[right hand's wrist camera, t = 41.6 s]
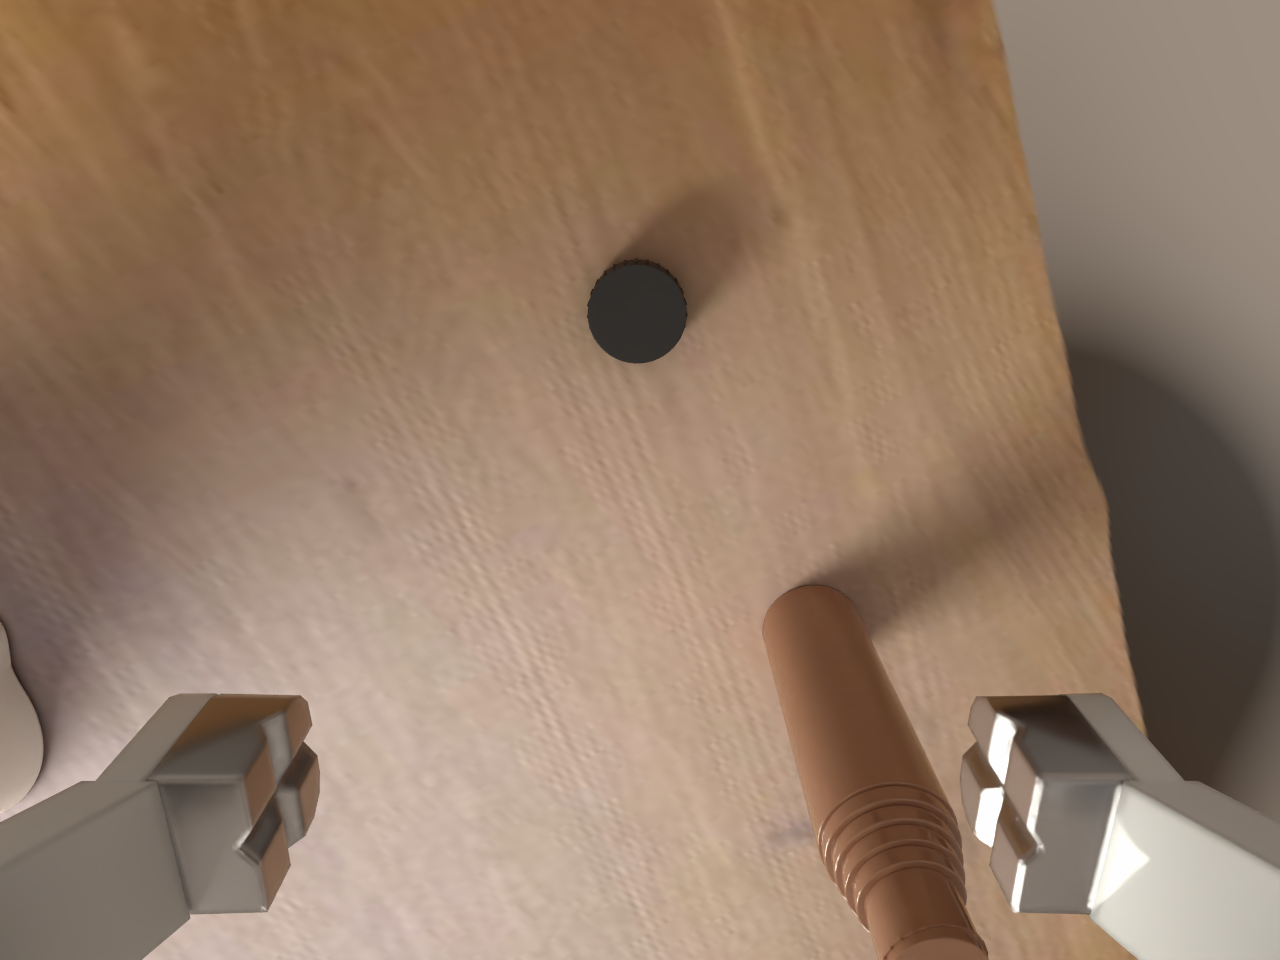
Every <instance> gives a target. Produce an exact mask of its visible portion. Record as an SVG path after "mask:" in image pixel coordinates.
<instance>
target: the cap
mask: <svg viewBox="0 0 1280 960" xmlns="http://www.w3.org/2000/svg"><path fill="white" fill-rule="evenodd" d="M590 295H591V298H590V300H589V302H588V305H587V306H588V315H587V318H588V321H589V326H590V327H589V328H590V330H591V332H592V335H593V337H594V339H595V340H596V342H597V343H598V344H599V346H600V347H601V348H602V349H603V350H604V351H605V352H606V353H608V354H609V355H610V356H612V357H614V358H616V359H618V360H621V361H624V362H628V363H647V362H650V361H654V360H656V359H659V358H660V357H662V356H664V355H665V354H667V353H668V352H669V351H670V350H671V349H672V348H673V347H674V346H675V345H676V344H677V342H678V341H679V339H680V338H681V336H682V333H683V331H684V328H685V324H686V316H687V312H686V305H687V303H686V300H685V298H684V297H683V290H682V288H680V286H679V284H678V282H677V279H676V278H674V277H673V276H672V275H671V274H670V273H669V270H666V269H664V268H663V267H661V266H660V264H655V263H653V262H649V260H647V261H645V260H637V259H635V260H630V261H626V260H624V262H622V263H619V264H617V265H615V264H614V265H613V267H612V268H610V269H609V270H607V271H606V270H605V271H604V274H603V275H602V276H601V277H600V279H597V281H596V285H595V287H594V289H592V291H591V294H590Z"/></svg>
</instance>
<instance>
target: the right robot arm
mask: <svg viewBox="0 0 1280 960" xmlns="http://www.w3.org/2000/svg"><path fill="white" fill-rule="evenodd" d="M311 726H312V721H311V716H310V711H309V706H308V702H307V701H306V700H305V699H304V698H303V697H302V696H300V695H258V694H219V695H218V694H178V695H175V696H172V697H169V698H168V699H167V700H166V701H165V703H164V704H163V705H162V706H161V707H160V708H159V709H158V711H157V712H156V713H155V714H154V715H153V716H152V717H151V718H150V720H149V721H148V722H147V723H146V724H145V725H144V726H143V728H142V729H141V730H140V731H139V732H138V733H137V734H136V735H135V737H134V738H133V739H132V740H131V741H130V742H129V743H128V745H127V746H126V747H125V748H124V749H123V750H122V751H121V752H120V754H119V755H118V756H117V757H116V758H115V759H114V760H113V762H112V763H111V764H110V765H109V766H108V767H107V768H106V769H105V771H104V772H103V773H102V774H101V775H100V776H99V777H98V779H97V780H96V781H81V782H79V783H77V784H75V785H73V786H71V787H69V788H67V789H65V790H63V791H61V792H59V793H57V794H55V795H53V796H51V797H50V798H48V799H46V800H44V801H42V802H40V803H38V804H36V805H34V806H32V807H30V808H28V809H26V810H24V811H22V812H20V813H18V814H16V815H14V816H12V817H10V818H8V819H6V820H4V821H2V822H0V960H142V959H143V958H144V957H145V956H147V955H148V954H149V953H150V952H151V951H152V950H154V949H155V948H156V947H157V946H158V945H160V944H161V943H162V942H163V941H164V940H165V939H167V938H168V937H169V936H170V935H171V934H173V933H174V932H175V931H176V930H177V929H178V928H180V927H181V926H182V925H183V924H184V923H186V922H187V921H188V920H189V919H190V914H220V913H254V912H268V910H269V908H270V906H271V904H272V902H273V900H274V898H275V896H276V894H277V892H278V890H279V888H280V886H281V884H282V882H283V880H284V878H285V876H286V874H287V872H288V870H289V868H290V866H291V864H290V858H289V853H288V848H289V847H290V846H292V845H293V844H294V843H296V842H297V841H299V840H300V839H301V838H303V837H304V836H305V835H306V833H307V831H308V829H309V827H310V825H311V822H312V820H313V818H314V815H315V811H316V806H317V802H318V797H319V793H320V770H319V764H318V757H317V755H316V754H315V753H314V752H313V751H312V750H311V749H310V748H309V747H308V746H307V745H306V744H305V743H304V742H303V741H304V739H305V737H306V735H307V734H308V732H309V730H310V728H311ZM968 726H969V728H970V730H971V732H972V734H973V735H974V737H975V739H976V741H977V742H976V743H975V744H974V745H973V746H972V747H971V748H970V749H969V750H968V751H967V752H966V753H965V754H964V755H963V757H962V765H961V773H960V787H961V798H962V804H963V808H964V811H965V814H966V818H967V821H968V823H969V825H970V827H971V829H972V831H973V833H974V835H975V836H976V837H977V838H979V839H980V840H981V841H983V842H984V843H986V844H987V845H988V846H990V847H991V848H992V853H991V858H990V864H989V866H990V868H991V870H992V872H993V874H994V876H995V878H996V880H997V882H998V884H999V886H1000V888H1001V890H1002V892H1003V894H1004V896H1005V898H1006V900H1007V902H1008V904H1009V906H1010V908H1011V910H1012V911H1013V912H1024V913H1059V914H1090V919H1091V920H1092V921H1094V922H1095V923H1096V924H1097V925H1098V926H1100V927H1101V928H1102V929H1103V930H1104V931H1105V932H1107V933H1108V934H1109V935H1110V936H1111V937H1113V938H1114V939H1115V940H1116V941H1117V942H1118V943H1120V944H1121V945H1122V946H1123V947H1124V948H1125V949H1127V950H1128V951H1129V952H1130V953H1131V954H1133V955H1134V956H1135V957H1136V958H1137V959H1138V960H1280V822H1278V821H1276V820H1274V819H1272V818H1270V817H1268V816H1266V815H1264V814H1262V813H1260V812H1258V811H1256V810H1254V809H1252V808H1250V807H1248V806H1246V805H1244V804H1242V803H1240V802H1238V801H1236V800H1234V799H1232V798H1230V797H1228V796H1226V795H1224V794H1222V793H1221V792H1219V791H1217V790H1215V789H1213V788H1211V787H1209V786H1207V785H1205V784H1203V783H1201V782H1199V781H1184V780H1183V779H1182V777H1181V776H1180V775H1179V774H1178V773H1177V772H1176V771H1175V769H1174V768H1173V767H1172V766H1171V765H1170V764H1169V763H1168V762H1167V760H1166V759H1165V758H1164V757H1163V756H1162V755H1161V754H1160V753H1159V751H1158V750H1157V749H1156V748H1155V747H1154V746H1153V745H1152V743H1151V742H1150V741H1149V740H1148V739H1147V738H1146V737H1145V735H1144V734H1143V733H1142V732H1141V731H1140V730H1139V729H1138V728H1137V726H1136V725H1135V724H1134V723H1133V722H1132V721H1131V720H1130V718H1129V717H1128V716H1127V715H1126V714H1125V713H1124V712H1123V711H1122V709H1121V708H1120V707H1119V706H1118V705H1117V704H1116V703H1115V702H1114V700H1113V699H1112V698H1110V697H1108V696H1106V695H1104V694H1102V693H1085V694H1059V695H1044V696H976V698H975V700H974V702H973V704H972V706H971V709H970V715H969V720H968ZM42 761H43V736H42V730H41V726H40V722H39V719H38V717H37V714H36V711H35V709H34V707H33V705H32V703H31V701H30V699H29V697H28V696H27V694H26V692H25V691H24V689H23V687H22V686H21V684H20V682H19V681H18V679H17V677H16V675H15V673H14V671H13V669H12V666H11V657H10V649H9V643H8V638H7V634H6V631H5V629H4V627H3V625H2V623H1V622H0V814H1V813H3V812H4V811H6V810H8V809H10V808H11V807H13V806H14V805H15V804H17V803H18V802H19V801H20V800H21V799H23V798H24V797H25V795H26V794H27V793H28V792H29V791H30V789H31V788H32V786H33V785H34V783H35V781H36V779H37V777H38V775H39V772H40V769H41V765H42Z"/></svg>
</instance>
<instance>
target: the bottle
mask: <svg viewBox="0 0 1280 960" xmlns="http://www.w3.org/2000/svg"><path fill="white" fill-rule="evenodd" d="M763 638H764V643H765V647H766V650H767V654H768V658H769V662H770V666H771V670H772V674H773V678H774V681H775V685H776V689H777V693H778V697H779V701H780V705H781V708H782V712H783V716H784V720H785V724H786V728H787V732H788V736H789V739H790V743H791V747H792V751H793V755H794V759H795V763H796V766H797V770H798V774H799V778H800V782H801V786H802V790H803V794H804V797H805V801H806V805H807V809H808V813H809V817H810V821H811V825H812V828H813V832H814V836H815V840H816V844H817V848H818V852H819V855H820V858H821V860H822V862H823V864H824V866H825V867H826V870H827V873H828V875H829V877H830V879H831V880H832V881H833V883H834V884H835V885H836V886H837V888H838V890H839V891H840V893H841V894H842V896H843V897H844V898H845V899H846V900H847V903H848V905H849V906H850V908H851V910H852V911H853V912H854V913H855V914H856V915H857V916H858V919H859V921H860V923H861V924H862V925H863V927H864V928H865V929H866V930H867V931H868V932H869V933H870V934H871V938H872V941H873V944H874V948H875V951H876V955H877V958H878V960H989V959H988V951H987V948H986V946H985V943H984V941H983V940H982V939H981V937H980V936H979V935H978V934H977V932H976V929H975V927H974V925H973V922H972V920H971V918H970V916H969V913H968V911H967V909H966V900H967V893H966V888H965V872H964V868H963V853H962V838H961V835H960V831H959V829H958V823H957V820H956V816H955V814H954V812H953V810H952V808H951V805H950V803H949V801H948V799H947V797H946V795H945V793H944V791H943V789H942V787H941V785H940V783H939V780H938V778H937V776H936V774H935V772H934V770H933V768H932V766H931V764H930V762H929V760H928V758H927V756H926V753H925V751H924V749H923V747H922V745H921V743H920V741H919V739H918V737H917V735H916V733H915V731H914V728H913V726H912V724H911V722H910V720H909V718H908V716H907V714H906V712H905V710H904V708H903V706H902V703H901V701H900V699H899V697H898V695H897V693H896V691H895V689H894V687H893V685H892V683H891V681H890V678H889V676H888V674H887V672H886V670H885V668H884V666H883V664H882V662H881V660H880V658H879V656H878V654H877V651H876V649H875V647H874V645H873V643H872V641H871V639H870V637H869V635H868V633H867V631H866V629H865V626H864V624H863V622H862V620H861V618H860V616H859V614H858V612H857V610H856V608H855V606H854V604H853V603H852V602H851V601H850V599H849V598H848V597H846V596H845V595H844V594H843V593H841V592H839V591H837V590H835V589H833V588H830V587H826V586H820V585H810V586H803V587H799V588H796V589H793V590H791V591H789V592H787V593H785V594H784V595H782V596H781V597H780V598H778V599H777V600H776V601H775V602H774V603H773V605H772V606H771V607H770V609H769V610H768V612H767V614H766V616H765V619H764V623H763Z"/></svg>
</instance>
